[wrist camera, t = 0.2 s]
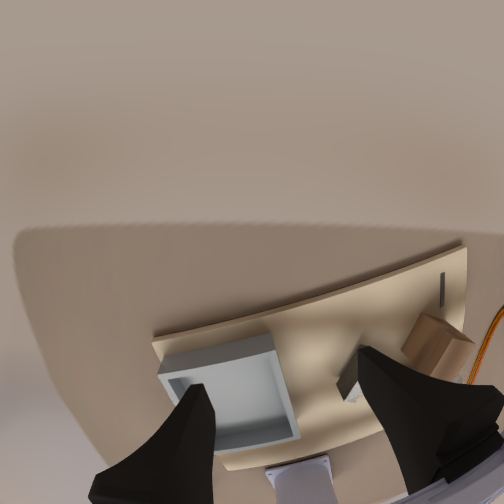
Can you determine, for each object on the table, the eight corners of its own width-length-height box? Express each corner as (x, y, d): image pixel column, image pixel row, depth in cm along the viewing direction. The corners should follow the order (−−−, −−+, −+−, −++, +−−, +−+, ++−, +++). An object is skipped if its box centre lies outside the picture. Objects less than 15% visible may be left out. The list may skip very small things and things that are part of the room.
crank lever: (454, 360, 24) (469, 374, 21) (434, 391, 25) (446, 406, 22) (357, 341, 22) (371, 361, 19) (334, 381, 23) (344, 402, 20)
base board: (447, 392, 26) (450, 395, 25) (227, 466, 27) (227, 471, 26) (461, 244, 21) (467, 247, 20) (153, 337, 22) (150, 343, 21)
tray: (296, 420, 24) (301, 438, 21) (209, 437, 24) (208, 455, 22) (271, 332, 21) (275, 349, 19) (163, 356, 21) (157, 374, 19)
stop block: (445, 320, 22) (475, 343, 17) (426, 354, 23) (452, 382, 18) (420, 312, 22) (452, 338, 17) (400, 349, 23) (427, 380, 18)
